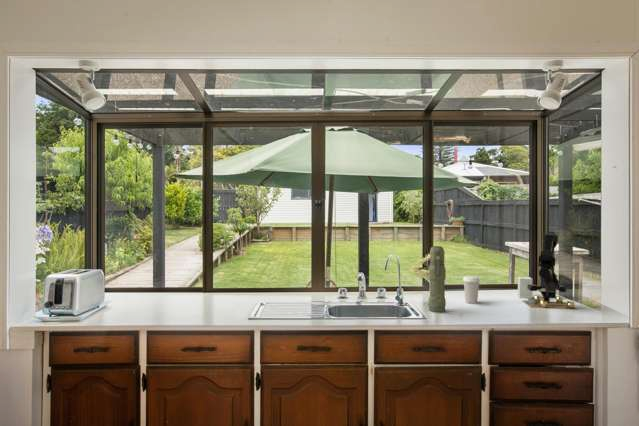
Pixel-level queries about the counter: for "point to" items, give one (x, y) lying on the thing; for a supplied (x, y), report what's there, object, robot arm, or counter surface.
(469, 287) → the coffee cup
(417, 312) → the counter surface
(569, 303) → the brass spacers
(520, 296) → the supplement box
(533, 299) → the steel nut
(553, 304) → the walnut board
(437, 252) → the green bumpy column
